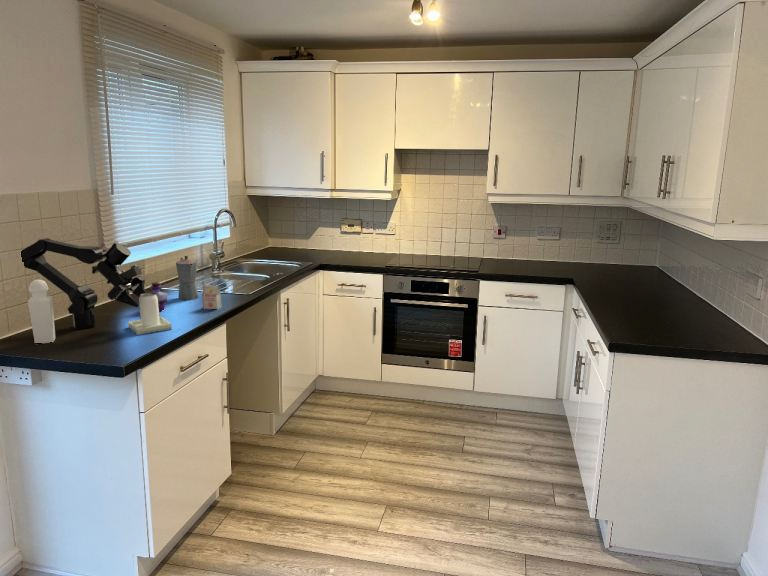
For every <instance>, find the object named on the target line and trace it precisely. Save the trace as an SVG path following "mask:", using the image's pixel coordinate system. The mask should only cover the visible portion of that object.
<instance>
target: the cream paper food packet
mask: <svg viewBox="0 0 768 576" xmlns="http://www.w3.org/2000/svg"><path fill="white" fill-rule="evenodd" d="M201 297H202V309H203V308H205V309H204V310H211V309H218V310H220V309H222V308H221V307H223V306H222V294H221V291H220V287H219V286H218V285H207V284H206V285H203V290H202V296H201ZM219 308H220V309H219Z"/></svg>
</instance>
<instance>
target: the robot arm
mask: <svg viewBox="0 0 768 576" xmlns="http://www.w3.org/2000/svg"><path fill="white" fill-rule="evenodd" d="M21 250H22V249H21ZM47 252H51V253H55V254H59V255H64V256H68V257H73V258H74V259H77V260H78V261H80V262H82V263H84V264H86V265H92V264H95V263H97V264H96V265H93V266H91V268H92V270H91V274H93V275H95V274H97V273H100V274H101V276H103V278H105V279H106V280H107V281H106V283H107V285H109V284H111V285H112V286H113V287H112V288H110V290H109V291H108V293H107V298H108V299H110V300H111V301H115V302H120V303H123V304H125V305H129V306H132V307H134V308H138V307H140V304H139V303H138V301H136V300H135V298H133V296H132V295H131V294H130V292H131V293H132V294H133V295H135V296H137V297H139V298H140V294H143V293H148V292H147V290H146V289H145V283H146V282H145V281H146V278H145V277H144V276H142V274H143V272H142V267H140V265H138V264H137V263H135V264H133V265H131V266H130V269H127V270H126V269H120V268H119V267H118V266H122V264H123V263H124V262H126V260H127V259H128V258H129V257H130V256H131V255H132V253H131V250H130V249H129V248H128V247H126V246H124V245H123V244H120V243H119V242H113V244H112V245H111V246H110V248H109V249H108V250H106V249H103V248H102V247H100V246H95V245H93V246H91V245H86V246H85V245H84V246H83V245H82V246H81V245H76V244H71V243H67V242H63V241H59V240H53V239H51V238H48V237H46V238H40V239H38V240H37V241H36V242H34V243H32V244H30V245H29V246H27V247H25V248H23V250H22V251H21V257H22V262H24V266H25V267H24V268H25V269H29V270H31V271H34V272H37V274H40V275H41V276H42V277H44V278H45V279H46V280H47V281H49V282H50V283H51V284H53V285H54V286H55V287H57V288H58V289H60V290H61V291H62V292H63V293H65V294H66V295H67V297H68V299H69V301H70V302H71V304H70V305H69V306H68V308H67V311H68V313H69V314H72V320H73V321H72V322H73V324H72V326H73V328H74V330H75V331H77V330H84V329H89V328H90V329H91V328H95V324H96V322H95V321H96V320H95V314H94V313H93V311H92V310H94V309H95V306H96V304H97V303H98V294H97V293H96V290H95V289H91V287H90V286H89V285H88V284H83V285H81V286H80V285H78V284H76V282H74V281H72V280H71V279H70V278H68V277H67V276H66V275H64V274H63V273H62V272H60V271H59V270H58V269H57V268H55V266H53V265H51V264H50V263H48V261H47V260H46V258H45V254H46V253H47Z"/></svg>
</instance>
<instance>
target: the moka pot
mask: <svg viewBox="0 0 768 576" xmlns="http://www.w3.org/2000/svg"><path fill="white" fill-rule="evenodd" d="M188 257H189V256H188V255H185V256H184V258H183V257H180V259H179V260H177V261H176V263H175V265H176V272H177V276H178V279H179V285H178V287H179V288H178V297H177V298H178V299H179V300H180V301H181V300H182V301H192V300H195V299H196V298H197V299H198V298H199V297H200V295H199V290H198V286H197V281H196V280H197V279H196V277H197V267H198V261H197V260H195V259H188Z"/></svg>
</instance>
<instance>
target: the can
mask: <svg viewBox="0 0 768 576" xmlns="http://www.w3.org/2000/svg"><path fill="white" fill-rule="evenodd" d="M138 302H139V303H138V305H139V314H140V320H141V325H142V326H143V327H151V326H157V325H159V324H160V321H159V317H160V312H159V308H158V298H157V296H156V293H153V292H147V293H143V294H140V297H139V299H138Z"/></svg>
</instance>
